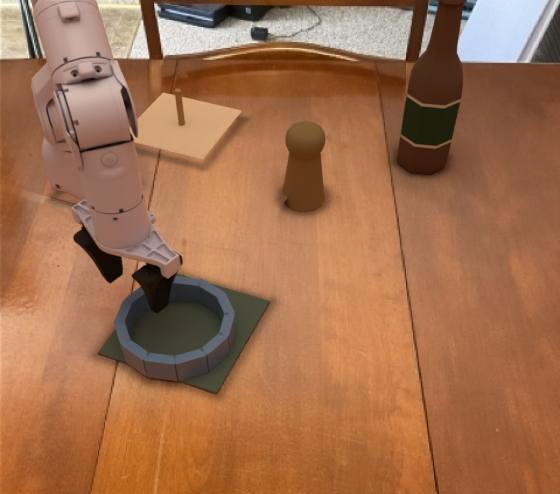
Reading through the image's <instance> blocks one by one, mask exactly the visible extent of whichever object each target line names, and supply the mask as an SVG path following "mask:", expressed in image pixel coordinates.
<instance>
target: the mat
mask: <svg viewBox="0 0 560 494" xmlns="http://www.w3.org/2000/svg"><path fill="white" fill-rule="evenodd" d="M176 276H180V277H189V278H192V277H190V276H187V275H185V274H180V273H177V274H176ZM209 283H210V284H212V285H214V286H215V287H217V288H219V289H220V290H222V291H224V292H225V293H226V295H227V297H228V299H229V301H230V303H231V306H232V308H233V310H234V312H235V321H236V334H235V338H234V342H233V345H232V349H231V353H230V354H229V355H228V356H227V357H226V358H225V359H224V360H222V361H221V362H220V363H219V364H218V365H217V366H216V367H215V368H213V369H212V370H211V371H210V372H209V371H208V373H206V374H202V375H199V376H195V377H192V378H189V379H185V380H182V381H179V380H178V381H177V382H179V383H183V384H185V385H189V386H191V387H195V388H198V389H200V390H203V391H206V392H209V393H212V394H215V395H218V394H219V392H220V389H221V388H222V386H223V385H224V383H225V381H226V379H227V377H228V375H229V374H230V372H231V370H232V369H233V367H234V366H235V364H236V362H237V360H238V358H239V357H240V355H241V353H242V351H243V349H244V348H245V347H246V345H247V343H248V342H249V339H250V337H251V336H252V334H253V333H254V331H255V329H256V327H257V326H258V324H259V322H260V320H261V318H262V317H263V315H264V313H265V312H266V310H267V308H268V307H269V304H270V302H271V301H270V300H268V299H265V298H261V297H258V296H255V295H251V294H248V293H244V292H241V291H237V290H235V289H231V288H227V287H224V286H221V285H217V284H214V283H211V282H209ZM221 324H222V322H221V319H220V317H219V315H218V314H217V313H215V312H214V311H212V310H211V309H209V308H207V307H206V306H204V305H203V304H201V303H194V302H185V301H173V302H170V303H169V305H168V306H166V307H165V308H164V309H163V310H161V311H160V312H159V313H158V314H156V313H154V312H153V311H152V310H151V309H150V310H149V311H148V312H147V313H145V314H144V315H143V316H141V317H140V318H139V319H138V320H136V322H135V325H134V327H133V330H132V332H131V335H130V339H131V340H132V341H133V342H135V343H136V344H137V345H139V346H140V347H142V348H143V349H145V350H146V351H148V352H149V353H156V354H164V355H172V356H176V355H180V354H183V353H187V352H190V351H194V350H198V349H201V348H202V347H203V346H205V345H206V344H207V343H208V342H209V341H210V340H212V339H213V338H214V337H215V336H216V335H217V334H219V331H220V327H221ZM97 355H99V356H102V357H105V358H108V359H111V360H114V361H117V362H120V363H123V364H126V365H129V364H128V363H126V361H125V359H124V356H123V353H122V350H121V346H120V343H119V340H118V336H117V333H116V329H115V328H114V330H113V331H112V333H111V334H109V337H108V338H107V339H106V341H105V342H104V343H103V344H102V346H101V347H100V349H99V350H98V351H97Z"/></svg>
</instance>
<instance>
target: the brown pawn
mask: <svg viewBox="0 0 560 494" xmlns="http://www.w3.org/2000/svg"><path fill="white" fill-rule="evenodd" d="M284 138H285V147H286V149H287V151H288V156H287V163H286V169H285V175H284V181H283V186H282V187H283V189H282V192H283V194H284V195H285V196H286V197H287V198H285V201H284V202H283V205H284V206H285V207H286V208H288V209H290V210H292V211H296V212H300V213H301V212H303V213H307V212H312V211H315V210H317V209H319V208H320V207H322V206H323V205H324V202H325V187H324V186H325V185H324V176H323V164H322V154H321V153H322V151H323V150H324V147H325V146H326V133H325V131H324V129H323V128H322V126H321V125H320V124H318V123H316V122H314V121H309V120H301V121H297V122H294V123H293V124H291V125H290V126H289V127H288V129H287V130H286V132H285V137H284Z"/></svg>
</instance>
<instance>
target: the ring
mask: <svg viewBox="0 0 560 494" xmlns="http://www.w3.org/2000/svg"><path fill="white" fill-rule="evenodd" d="M189 277H190V276H187V277H180V276H175V279H174V281H173V284H172V288H171V292H170V298H169V303H170V302H173V301H185V302H194V303H201V304H203V305H204V306H206V307H207V308H209V309H211V310H212V311H214V312H215V313H217V314H218V315H219V317H220V319H221V322H222V324H221V327H220V331H219V334H217V335H216V336H215V337H214V338H213V339H212V340H210V341H209V342H208V343H207V344H206V345H205V346H203V347H202V348H201V349H198V350H194V351H190V352H187V353H183V354H180V355H176V356H172V355H164V354H156V353H149V352H148V351H146V350H145V349H143V348H142V347H140V346H139V345H137V344H136V343H135V342H133V341H132V340H131V339H130V335H131V332H132V330H133V327H134V325H135V322H136V320H138V319H139V318H140V317H141V316H143V315H144V314H145V313H147V312H148V311H149V310H150V307H149V304H148V301H147V298H146V295H145V293H144V291H143V289H142V288H141V286H140V287H138V288H137V289H136V290H134V291H133V292H131V293H130V294H129V295H128V296H126V297H125V298H124V299H123V300H122V302H121V304H120V305H119V309H118V311H117V313H116V316H115V318H114V320H113V325H114V330H115V329H116V333H117V336H118V340H119V343H120V346H121V350H122V353H123V356H124V359H125V361H126V363H128V364H127V365H129V366H131V367H132V368H134V370H136V371H138V372H139V373H141V374H142V375H143V376H145V377H146V378H149V379H157V380H164V381H171V382H173V381H174V382H179V381H182V380H185V379H189V378H192V377H195V376H199V375H202V374H206V373H208V371H209V372H210V371H211V370H212V369H213V368H215V367H216V366H217V365H218V364H219V363H220V362H221V361H222V360H224V359H225V358H226V357H227V356H228V355H229V354H230V353H231V349H232V345H233V342H234V338H235V334H236V321H235V312H234V310H233V308H232V306H231V303H230V301H229V299H228V297H227V295H226V293H225V292H224V291H222V290H220V289H219V288H217V287H215V286H214V285H215V284H214V285H212V284H213V283H211V282H209V281H208V280H205V279H203V278H197V277H191V278H189ZM210 283H211V284H210ZM126 363H125V364H126ZM178 380H179V381H178Z"/></svg>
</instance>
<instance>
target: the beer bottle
mask: <svg viewBox="0 0 560 494" xmlns="http://www.w3.org/2000/svg"><path fill="white" fill-rule="evenodd" d="M437 1H438V4H437V8H436V12H435V15H434V21H433V25H432V29H431V33H430V38H429V40H428V43H427V47H426V49H425V50H424V52H423V53H422V54H421V55H420V56H419V57H418V58H417V59H416V61H415V63H414V64H413V66H412V68H411V70H410V74H409V79H408V83H407V90H406V96H405V102H404V107H403V115H402V121H401V126H400V133H399V141H398V146H397V147H398V149H397V158H396V162H397V164H398V165H399V166H401V167H402V168H404V169H405V170H406V171H407V172H409V173H411V174H419V175H420V174H421V175H431V174H434V173H436V172H438V171H441V170H443V169H444V168H445V167H446V165H447V161H448V158H449V154H450V150H451V146H452V141H453V136H454V132H455V127H456V122H457V118H458V115H459V109H460V107H461V101H462V95H463V89H464V69H463V63H462V61H461V58H460V56H459V54H458V46H459V45H458V44H459V38H460V30H461V25H462V18H463V11H464V4H465V3H467V2H468V0H437Z"/></svg>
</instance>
